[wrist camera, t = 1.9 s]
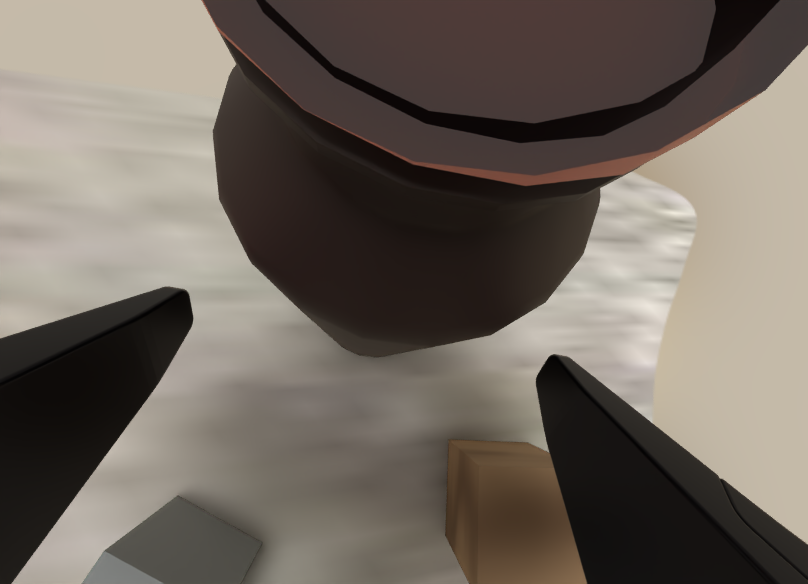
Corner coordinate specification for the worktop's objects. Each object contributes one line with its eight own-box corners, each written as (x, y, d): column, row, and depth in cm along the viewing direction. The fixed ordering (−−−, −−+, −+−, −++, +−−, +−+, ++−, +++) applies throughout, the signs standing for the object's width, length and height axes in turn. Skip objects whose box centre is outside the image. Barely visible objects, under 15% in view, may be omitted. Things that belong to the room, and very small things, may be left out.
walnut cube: (528, 535, 18) (589, 596, 14) (445, 534, 18) (477, 599, 13) (526, 442, 20) (582, 469, 15) (448, 439, 19) (479, 465, 14)
